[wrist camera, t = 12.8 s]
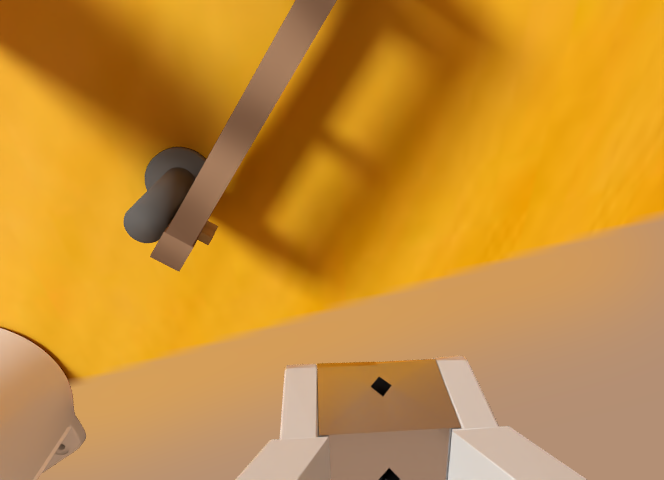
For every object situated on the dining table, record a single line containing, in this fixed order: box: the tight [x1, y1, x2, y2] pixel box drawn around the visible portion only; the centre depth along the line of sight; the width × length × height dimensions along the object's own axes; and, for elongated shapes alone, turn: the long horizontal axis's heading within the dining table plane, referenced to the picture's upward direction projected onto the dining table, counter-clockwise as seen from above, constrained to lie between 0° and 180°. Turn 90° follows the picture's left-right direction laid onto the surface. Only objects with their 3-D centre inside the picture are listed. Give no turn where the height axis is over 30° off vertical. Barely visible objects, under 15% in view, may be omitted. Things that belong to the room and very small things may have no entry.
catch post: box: [124, 147, 206, 243], centre depth 32 cm, size 5×5×9 cm
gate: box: [150, 0, 337, 271], centre depth 29 cm, size 20×3×10 cm, turn 147°
